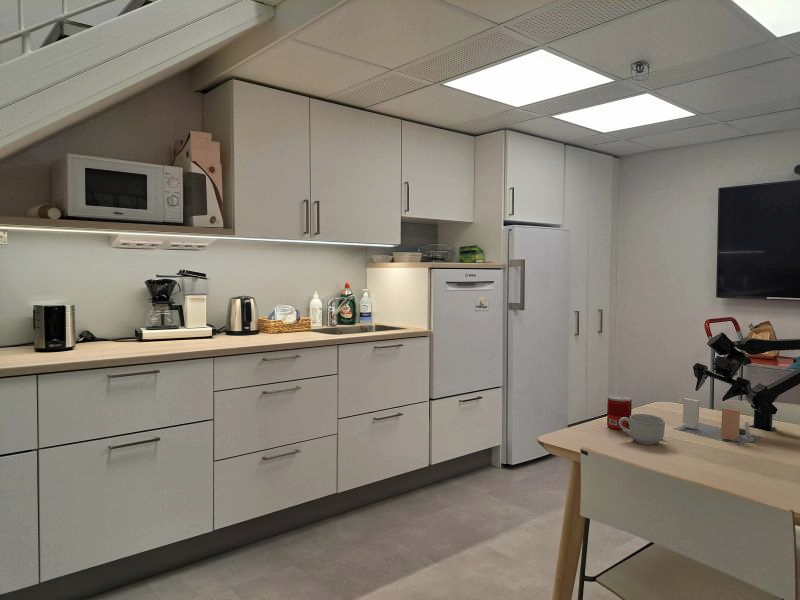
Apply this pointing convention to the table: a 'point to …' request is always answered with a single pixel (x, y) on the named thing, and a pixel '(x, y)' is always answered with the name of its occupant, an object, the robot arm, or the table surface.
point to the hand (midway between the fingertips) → (709, 395)
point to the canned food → (618, 411)
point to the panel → (716, 433)
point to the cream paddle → (690, 413)
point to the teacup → (645, 428)
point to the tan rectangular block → (730, 424)
